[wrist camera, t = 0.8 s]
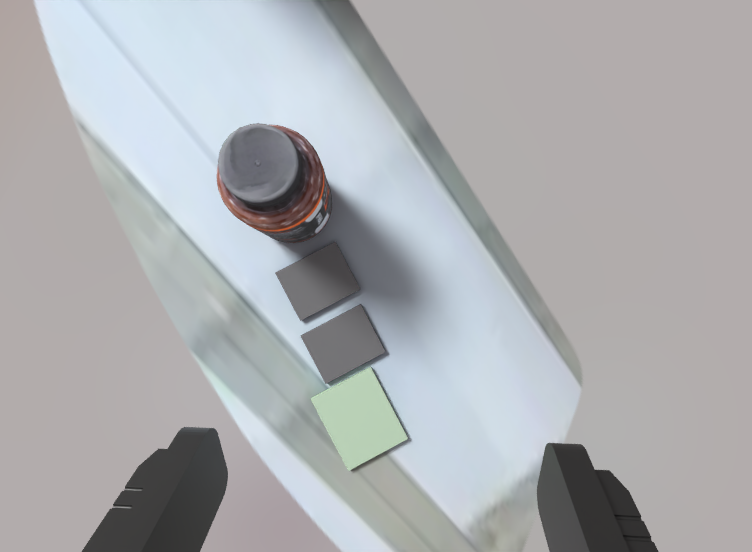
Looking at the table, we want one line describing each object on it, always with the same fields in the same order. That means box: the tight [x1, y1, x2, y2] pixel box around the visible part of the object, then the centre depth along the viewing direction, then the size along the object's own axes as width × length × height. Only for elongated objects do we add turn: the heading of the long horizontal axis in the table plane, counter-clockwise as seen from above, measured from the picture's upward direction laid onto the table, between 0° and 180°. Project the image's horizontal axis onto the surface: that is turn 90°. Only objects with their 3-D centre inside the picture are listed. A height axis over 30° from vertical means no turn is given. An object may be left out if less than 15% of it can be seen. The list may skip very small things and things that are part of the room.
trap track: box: [276, 242, 408, 471], centre depth 33 cm, size 16×7×1 cm, turn 28°
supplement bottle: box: [217, 123, 332, 243], centre depth 27 cm, size 6×6×11 cm
